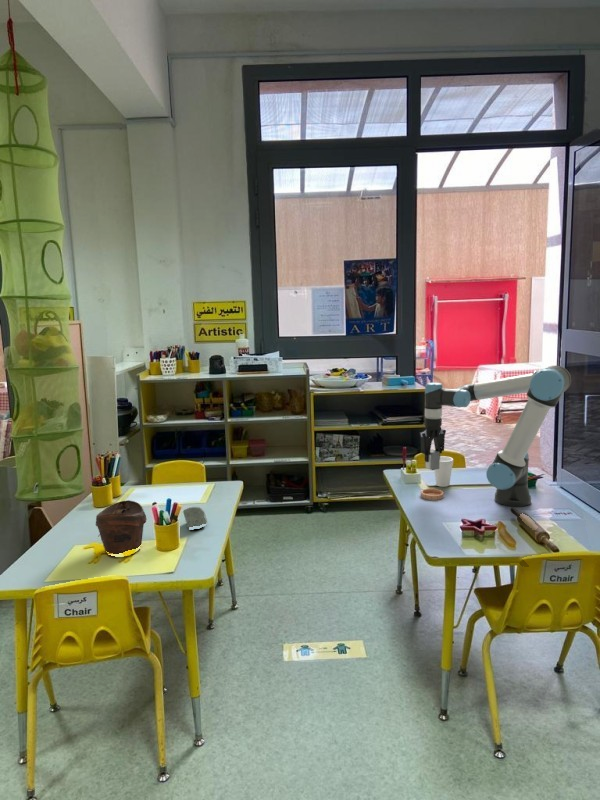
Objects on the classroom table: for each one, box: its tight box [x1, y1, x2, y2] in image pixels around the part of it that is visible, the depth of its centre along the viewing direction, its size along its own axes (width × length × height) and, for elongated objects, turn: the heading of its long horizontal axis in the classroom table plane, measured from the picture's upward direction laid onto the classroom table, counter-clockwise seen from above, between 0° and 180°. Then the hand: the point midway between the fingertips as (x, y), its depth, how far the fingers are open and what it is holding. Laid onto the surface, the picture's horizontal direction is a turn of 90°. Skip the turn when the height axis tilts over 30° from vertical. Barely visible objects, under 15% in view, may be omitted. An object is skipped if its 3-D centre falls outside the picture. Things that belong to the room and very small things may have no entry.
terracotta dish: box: [420, 487, 445, 501], centre depth 255 cm, size 10×10×2 cm
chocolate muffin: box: [95, 499, 148, 559], centre depth 207 cm, size 18×20×18 cm
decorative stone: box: [182, 506, 208, 528], centre depth 229 cm, size 13×11×10 cm
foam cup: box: [433, 455, 454, 488], centre depth 270 cm, size 10×9×13 cm
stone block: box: [424, 448, 441, 471], centre depth 253 cm, size 5×4×8 cm
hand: (432, 467), depth 253 cm, fingers closed on stone block, 4 cm apart
